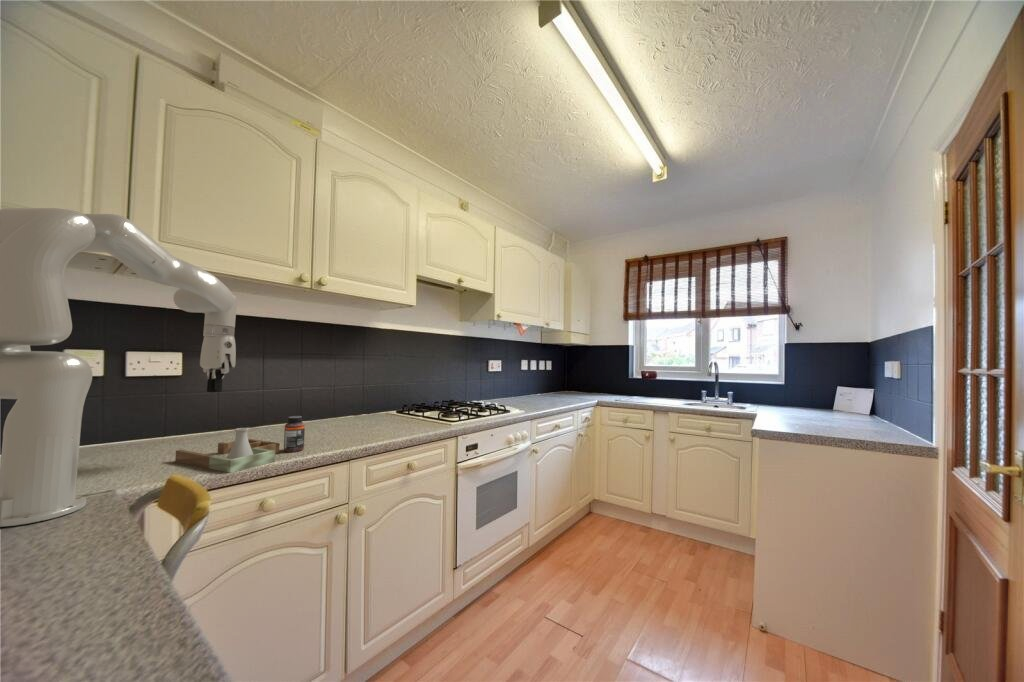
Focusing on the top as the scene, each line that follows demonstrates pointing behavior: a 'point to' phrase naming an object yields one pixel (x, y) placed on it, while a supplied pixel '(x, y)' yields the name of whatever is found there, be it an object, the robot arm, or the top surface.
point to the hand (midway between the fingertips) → (214, 391)
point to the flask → (240, 445)
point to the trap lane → (260, 449)
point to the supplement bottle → (294, 434)
